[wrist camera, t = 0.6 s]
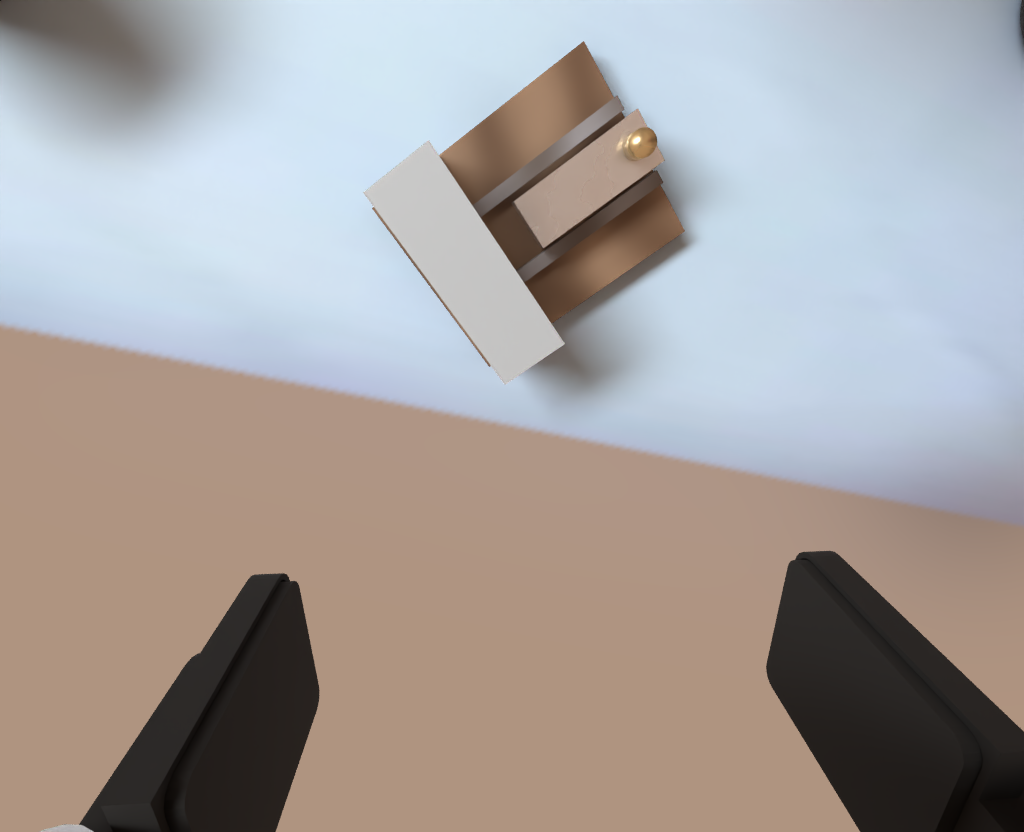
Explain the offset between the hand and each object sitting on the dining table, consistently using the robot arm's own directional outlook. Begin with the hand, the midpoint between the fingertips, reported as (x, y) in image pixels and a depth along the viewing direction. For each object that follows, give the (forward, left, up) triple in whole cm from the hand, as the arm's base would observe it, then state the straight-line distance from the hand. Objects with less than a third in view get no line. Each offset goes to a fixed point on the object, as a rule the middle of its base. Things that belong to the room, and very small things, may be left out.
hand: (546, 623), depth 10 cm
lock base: (-6, -5, -27) cm, 28 cm away
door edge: (-1, -5, -26) cm, 26 cm away
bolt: (-9, -5, -25) cm, 28 cm away
